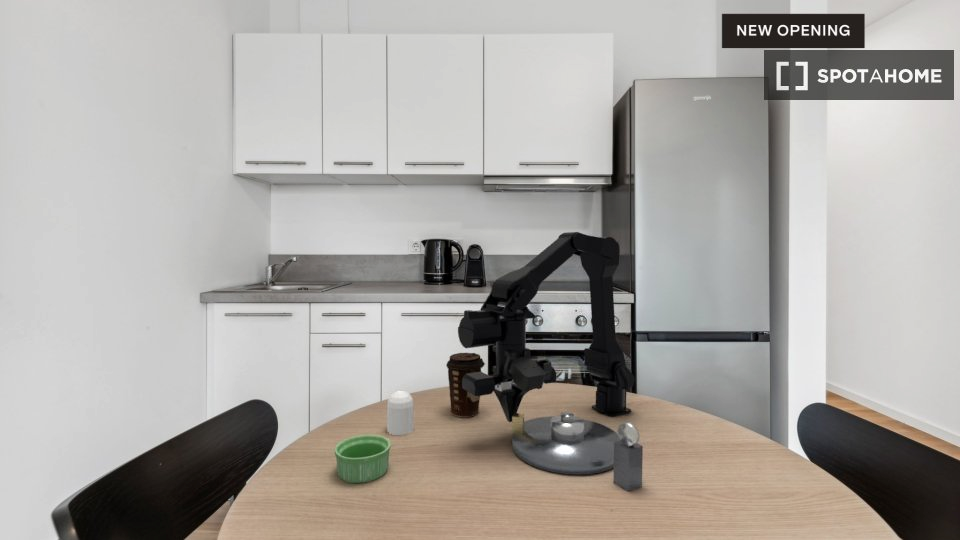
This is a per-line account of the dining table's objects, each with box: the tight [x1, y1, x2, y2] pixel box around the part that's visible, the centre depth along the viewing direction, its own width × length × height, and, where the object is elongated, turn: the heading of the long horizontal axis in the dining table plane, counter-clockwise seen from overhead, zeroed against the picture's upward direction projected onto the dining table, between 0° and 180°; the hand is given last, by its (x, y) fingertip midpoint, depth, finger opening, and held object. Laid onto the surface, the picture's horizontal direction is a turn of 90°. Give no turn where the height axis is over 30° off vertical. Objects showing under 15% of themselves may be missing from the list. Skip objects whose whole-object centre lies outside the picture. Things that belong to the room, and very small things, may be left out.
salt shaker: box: [386, 390, 415, 436], centre depth 89 cm, size 5×5×8 cm
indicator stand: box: [612, 421, 644, 493], centre depth 69 cm, size 3×3×10 cm
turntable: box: [511, 412, 621, 475], centre depth 81 cm, size 20×20×5 cm
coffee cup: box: [445, 352, 486, 418], centre depth 99 cm, size 9×8×13 cm
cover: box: [551, 411, 584, 444], centre depth 81 cm, size 6×6×4 cm
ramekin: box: [334, 434, 392, 484], centre depth 73 cm, size 9×9×4 cm
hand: (510, 421), depth 86 cm, fingers closed
